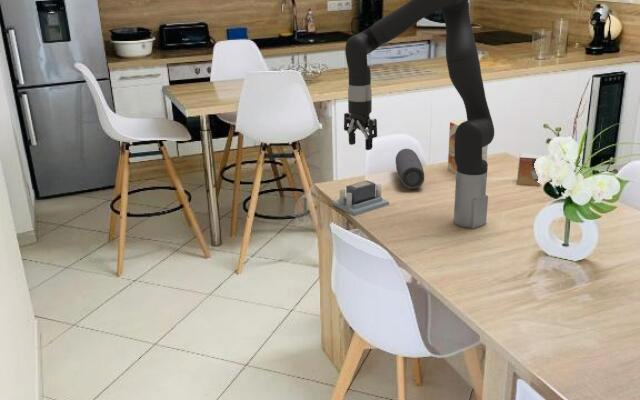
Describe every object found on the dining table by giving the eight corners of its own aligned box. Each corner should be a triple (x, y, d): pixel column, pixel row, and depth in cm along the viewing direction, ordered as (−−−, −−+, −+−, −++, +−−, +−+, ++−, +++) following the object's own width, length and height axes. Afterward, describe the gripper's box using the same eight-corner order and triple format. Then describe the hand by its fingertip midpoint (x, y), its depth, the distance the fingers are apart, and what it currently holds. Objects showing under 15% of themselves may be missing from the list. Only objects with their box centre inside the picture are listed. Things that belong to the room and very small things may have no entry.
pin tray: (388, 204, 219) (389, 187, 216) (354, 215, 211) (354, 197, 208) (366, 195, 228) (366, 178, 225) (332, 205, 220) (332, 187, 217)
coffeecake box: (446, 170, 251) (449, 121, 244) (461, 167, 253) (464, 119, 246) (470, 181, 238) (473, 130, 231) (486, 178, 241) (489, 127, 234)
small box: (516, 184, 234) (519, 157, 230) (517, 179, 239) (519, 152, 235) (540, 186, 231) (542, 158, 228) (539, 181, 236) (542, 154, 233)
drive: (375, 200, 219) (375, 183, 217) (354, 206, 215) (354, 189, 212) (367, 196, 223) (367, 180, 221) (346, 202, 218) (346, 185, 216)
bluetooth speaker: (425, 192, 229) (426, 165, 226) (399, 192, 230) (400, 165, 226) (418, 171, 251) (418, 146, 247) (394, 171, 251) (394, 147, 247)
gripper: (383, 99, 202) (383, 149, 208) (355, 93, 213) (355, 140, 219) (365, 103, 198) (365, 153, 204) (337, 96, 209) (338, 144, 215)
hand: (360, 146), depth 212 cm, fingers open, 8 cm apart
